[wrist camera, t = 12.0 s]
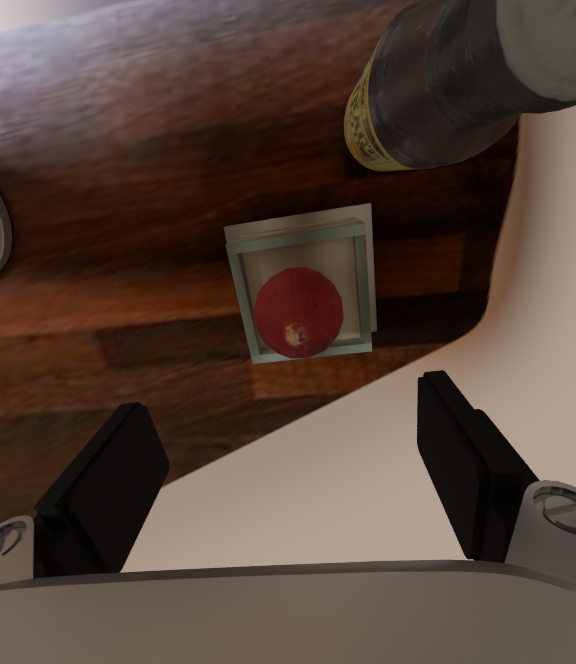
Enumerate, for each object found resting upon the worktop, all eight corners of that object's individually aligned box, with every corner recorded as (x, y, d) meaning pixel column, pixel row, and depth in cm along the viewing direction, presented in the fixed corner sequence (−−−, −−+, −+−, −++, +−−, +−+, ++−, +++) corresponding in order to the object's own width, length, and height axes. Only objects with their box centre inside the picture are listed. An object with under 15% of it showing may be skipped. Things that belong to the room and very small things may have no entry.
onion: (351, 311, 24) (368, 364, 17) (285, 342, 26) (275, 402, 18) (317, 243, 22) (320, 268, 15) (248, 280, 24) (221, 319, 16)
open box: (252, 340, 31) (239, 373, 26) (226, 226, 27) (204, 235, 21) (374, 326, 30) (389, 358, 24) (368, 203, 26) (385, 206, 20)
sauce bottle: (344, 74, 22) (487, -416, 4) (435, 72, 22) (1015, -475, 4) (338, 177, 25) (410, 145, 7) (419, 177, 25) (717, 142, 7)
